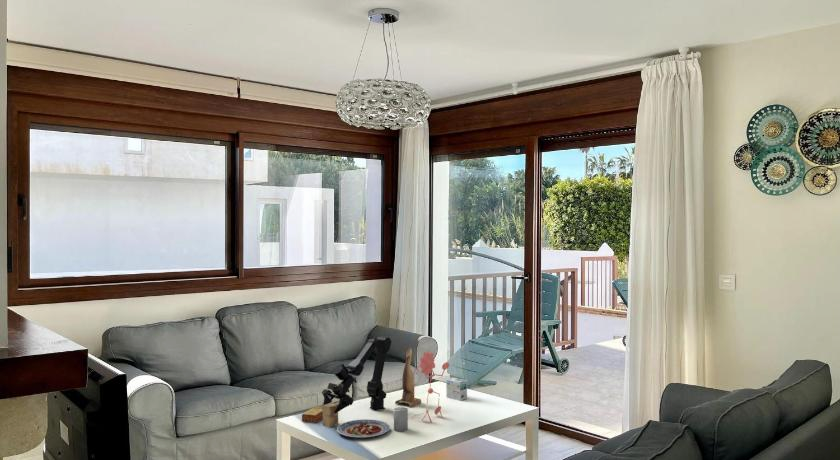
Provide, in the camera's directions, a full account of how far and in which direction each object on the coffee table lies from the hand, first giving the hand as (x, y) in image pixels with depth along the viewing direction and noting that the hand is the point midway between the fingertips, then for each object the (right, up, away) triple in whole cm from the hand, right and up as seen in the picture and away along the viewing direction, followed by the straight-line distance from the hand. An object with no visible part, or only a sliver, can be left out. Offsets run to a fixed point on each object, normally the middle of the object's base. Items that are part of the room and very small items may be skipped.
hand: (328, 411), depth 320 cm
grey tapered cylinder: (+37, -7, -7) cm, 38 cm away
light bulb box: (+68, -6, +47) cm, 82 cm away
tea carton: (+1, -7, +1) cm, 7 cm away
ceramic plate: (+19, -8, -10) cm, 22 cm away
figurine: (+50, -7, +11) cm, 52 cm away
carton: (-8, -7, +13) cm, 17 cm away
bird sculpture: (+40, -6, +36) cm, 54 cm away
